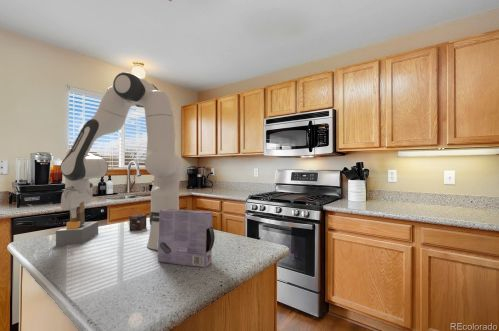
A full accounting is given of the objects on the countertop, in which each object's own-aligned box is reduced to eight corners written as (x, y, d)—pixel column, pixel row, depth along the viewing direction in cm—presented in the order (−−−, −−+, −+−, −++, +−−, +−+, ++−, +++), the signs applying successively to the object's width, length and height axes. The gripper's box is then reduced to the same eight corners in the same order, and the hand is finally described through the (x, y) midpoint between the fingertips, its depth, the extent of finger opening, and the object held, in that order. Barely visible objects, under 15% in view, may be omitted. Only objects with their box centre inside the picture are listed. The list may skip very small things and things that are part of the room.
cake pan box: (215, 262, 84) (214, 210, 84) (209, 268, 79) (208, 212, 79) (165, 257, 89) (165, 208, 89) (156, 262, 84) (156, 210, 84)
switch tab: (80, 226, 110) (80, 220, 110) (76, 228, 107) (76, 222, 107) (70, 226, 109) (70, 221, 109) (66, 228, 106) (66, 222, 106)
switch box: (98, 233, 121) (98, 221, 121) (82, 243, 105) (82, 229, 105) (75, 234, 119) (75, 222, 119) (55, 245, 104) (55, 230, 104)
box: (129, 230, 127) (128, 216, 127) (136, 227, 133) (136, 214, 133) (139, 231, 126) (139, 216, 126) (146, 228, 132) (146, 214, 132)
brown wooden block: (84, 223, 114) (84, 201, 114) (80, 225, 110) (79, 202, 110) (74, 223, 113) (74, 201, 113) (70, 225, 109) (69, 203, 109)
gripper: (73, 187, 102) (73, 221, 102) (94, 183, 122) (95, 212, 122) (55, 187, 101) (56, 221, 101) (80, 184, 121) (80, 212, 121)
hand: (77, 216), depth 112 cm, fingers closed on brown wooden block, 4 cm apart
